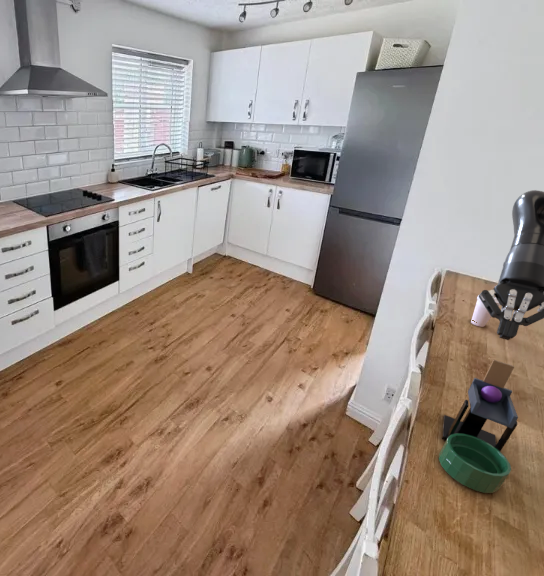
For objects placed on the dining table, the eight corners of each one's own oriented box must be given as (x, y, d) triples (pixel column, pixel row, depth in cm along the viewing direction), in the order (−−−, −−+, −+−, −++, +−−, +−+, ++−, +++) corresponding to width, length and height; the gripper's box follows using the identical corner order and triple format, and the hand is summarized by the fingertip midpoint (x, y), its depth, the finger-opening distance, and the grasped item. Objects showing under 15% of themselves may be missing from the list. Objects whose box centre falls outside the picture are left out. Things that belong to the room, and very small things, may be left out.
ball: (484, 395, 76) (490, 382, 75) (501, 405, 73) (508, 391, 72) (474, 396, 75) (480, 383, 74) (491, 406, 72) (498, 393, 71)
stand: (443, 417, 83) (461, 380, 79) (493, 437, 78) (516, 399, 74) (441, 441, 77) (461, 403, 72) (496, 465, 72) (521, 426, 67)
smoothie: (490, 324, 124) (510, 287, 118) (488, 331, 120) (508, 292, 114) (467, 317, 128) (485, 280, 122) (464, 323, 124) (482, 285, 118)
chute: (467, 391, 78) (484, 356, 75) (504, 404, 75) (523, 368, 72) (471, 413, 70) (490, 374, 67) (512, 428, 67) (533, 389, 64)
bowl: (459, 446, 76) (469, 429, 74) (510, 487, 68) (523, 468, 66) (426, 457, 73) (435, 439, 71) (475, 500, 65) (487, 481, 63)
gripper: (493, 253, 82) (471, 321, 79) (576, 269, 75) (556, 344, 72) (482, 268, 88) (461, 332, 85) (558, 284, 81) (538, 355, 78)
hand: (505, 338), depth 78 cm, fingers closed
